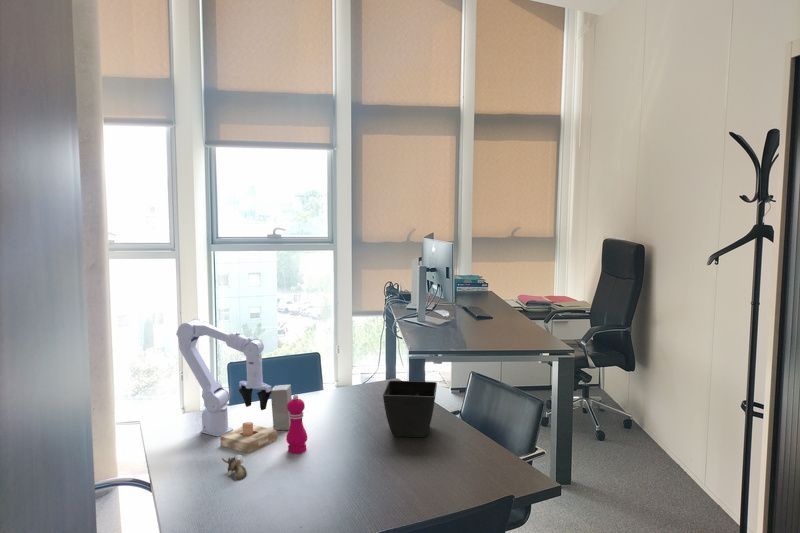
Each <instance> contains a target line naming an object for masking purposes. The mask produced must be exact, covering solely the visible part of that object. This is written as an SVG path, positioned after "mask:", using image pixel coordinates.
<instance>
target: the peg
mask: <svg viewBox="0 0 800 533" xmlns="http://www.w3.org/2000/svg"><path fill="white" fill-rule="evenodd" d="M253 425H254V423H253V422H251V421H246V422H243V423H242V426H243V435H244V436H248V437H249V436H252V435H253Z"/></svg>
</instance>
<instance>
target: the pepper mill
mask: <svg viewBox="0 0 800 533" xmlns="http://www.w3.org/2000/svg"><path fill="white" fill-rule="evenodd" d="M305 406H306V405H305V402H304V400H303V399H301V398H299V395H297V394H294V395H293V396H292V400H290V401H289V402H288V405H287V409H288V411H289V412H290V413H289V418H290V421H291V422H290V428H289V430H287V434H286V438H285V439H286V442H287V444H288V446H287V452H288V451H289V452H290V454H292V453H293V455H298V454H303V453H305V452H306V451H307V444H306V443H307V441H308V433H307V431H306V429H305V427H304V423H303V418H304V410H305ZM289 452H288V453H289Z"/></svg>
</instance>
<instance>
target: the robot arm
mask: <svg viewBox="0 0 800 533" xmlns="http://www.w3.org/2000/svg"><path fill="white" fill-rule="evenodd" d="M175 334H176V337H177V338H178V339H177V340H178V348H179V351H180V353H181V354H182V357H183V358H184V360H185V362H186V363H187V365H188V366H189V369H190V370H191V372H192V374H193V375H194V377H195V379H196V381H197V382H198V384H199V386H200V388H201V389H202V393H201V398H202V400H203V406H204V407H205V408H204V409H203V411H202V412H201V428H202V429H201V430H200V433H202V434H207V435H210V436H214V437H220V436H222V435H224V434H226V433H229V432H231V431H233V430H234V428H232V427H229V418H228V417H229V416H228V413H229V412H228V403H229V401H230V399H231V398H230V397H231V396H230V393H229V391H228V390H227V389H225V388H224V387H223V385H222V384H221V383H219V382H217V381H216V379H215V377H214V376H213V374H212V372H211V371H210V369H209V367H208V366H207V364H206V362H205V360H204V359H203V357H202V355H201V353H200V352H199V350H198V349H197V347H196V345H197V343H198V340H199V338H200V337H202V336H203V337H204V336H207V337H211V338H213V339H215V340H216V339H217V340H219V341H222V342H223V343H224V342H225V344H226V346H227V347H229V348H231V349H232V350H236V351H239V352H241V353H243V354H244V356H245V359H246V360H245V361H246V362H245V363H246V366H245V367H246V380H240V381H239V382H238V384H239V387H240V388H239V389H238V392H239V393H240V394H241V397H242V398H243V402H244V405H245V407H246V408H248V407H250V406H252V396H253V395H252V393H253V390H259V391H258V392H256V395H257V396H258V400H259V407H260V411H264V410H266V409H267V405H268V401H269V398H270V397H271V392H272V385H269V384H267V383H265V382H264V380H263V378H264V377H263V356H262V355H263V353H262V352H263V351H264V349H265V346H264V343H263V341H261V340H260V339H259V338H253V339H252V337H251V336H250V337H248V336H244V335H242V334H241V332H240V331H236V332H235V331H233V332H230V333H229V332H227V331H225V330H222V329H221V328H218V327H216V326H214V325H212V324H211V323H208V322H207V321H205V320H202V319H199V318H193V319H191V320H189V321H186V322H182V323H181V324H180V325H179V326H178V328H177V331H176V333H175Z"/></svg>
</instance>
